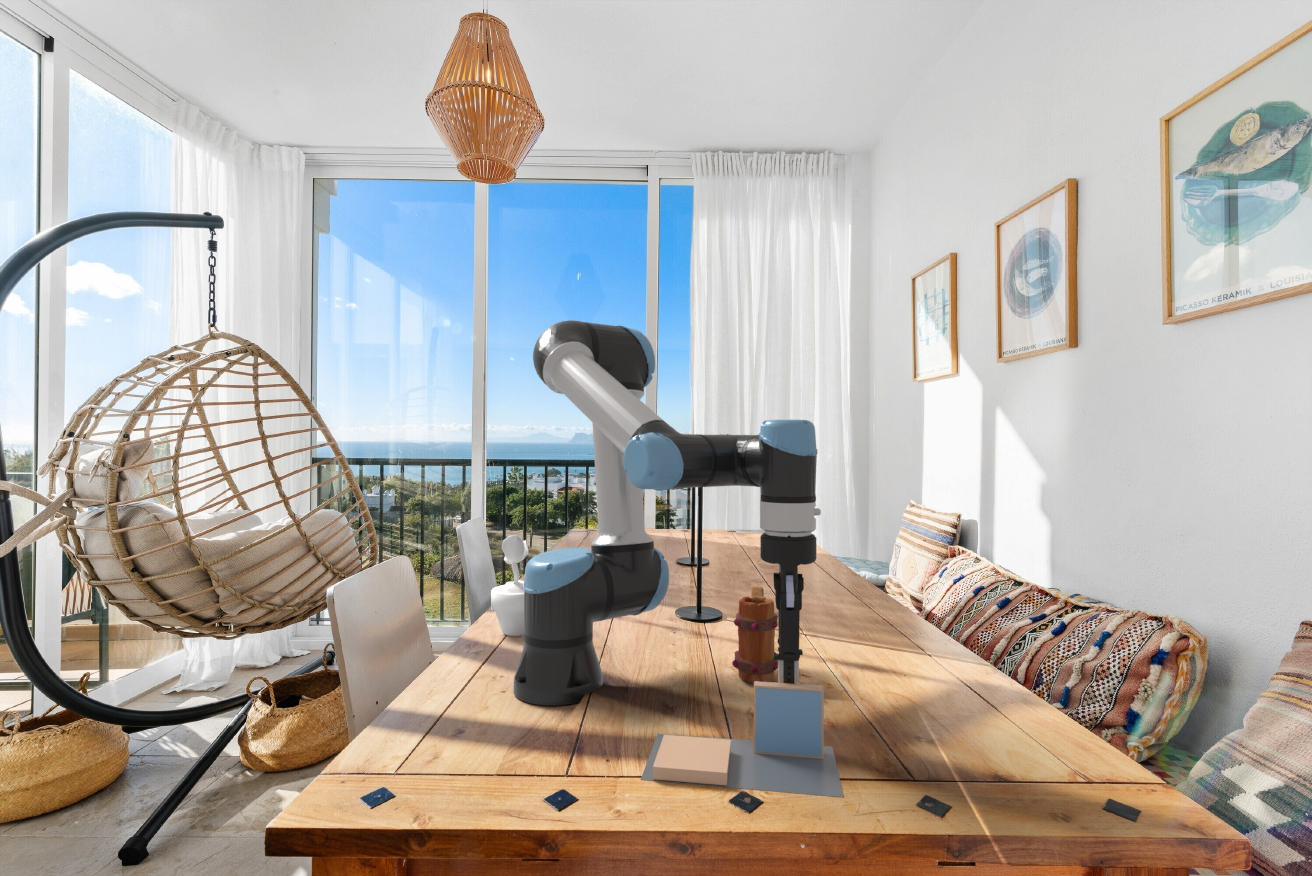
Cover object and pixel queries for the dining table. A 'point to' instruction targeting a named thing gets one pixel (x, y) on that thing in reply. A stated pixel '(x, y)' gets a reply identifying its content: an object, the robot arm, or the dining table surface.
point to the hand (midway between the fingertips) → (788, 705)
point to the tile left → (693, 760)
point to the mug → (756, 637)
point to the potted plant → (511, 589)
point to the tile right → (789, 719)
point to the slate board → (770, 771)
